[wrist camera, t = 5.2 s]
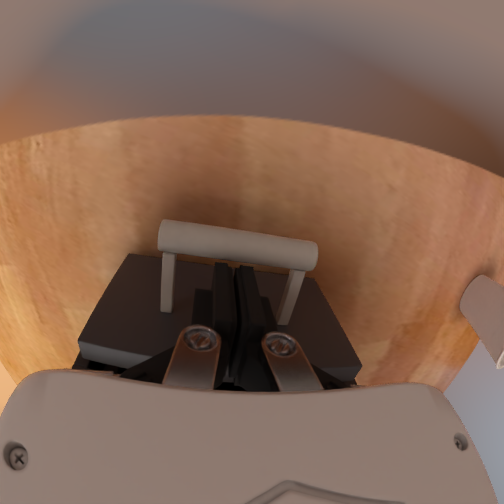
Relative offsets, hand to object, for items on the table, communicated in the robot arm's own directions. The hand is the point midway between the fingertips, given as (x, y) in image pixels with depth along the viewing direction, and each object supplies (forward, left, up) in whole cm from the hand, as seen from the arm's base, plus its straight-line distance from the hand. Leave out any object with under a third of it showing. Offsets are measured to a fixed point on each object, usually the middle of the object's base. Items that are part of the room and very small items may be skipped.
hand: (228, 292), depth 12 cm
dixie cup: (-31, +3, -7) cm, 32 cm away
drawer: (0, +5, -6) cm, 8 cm away
